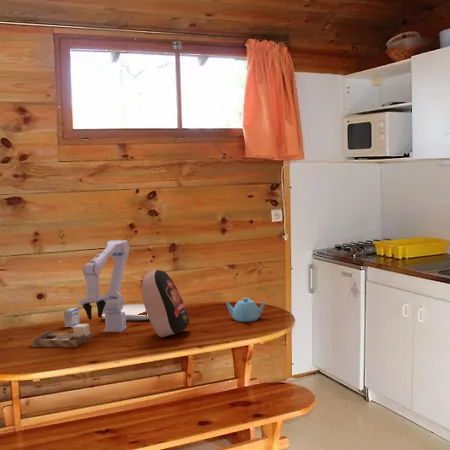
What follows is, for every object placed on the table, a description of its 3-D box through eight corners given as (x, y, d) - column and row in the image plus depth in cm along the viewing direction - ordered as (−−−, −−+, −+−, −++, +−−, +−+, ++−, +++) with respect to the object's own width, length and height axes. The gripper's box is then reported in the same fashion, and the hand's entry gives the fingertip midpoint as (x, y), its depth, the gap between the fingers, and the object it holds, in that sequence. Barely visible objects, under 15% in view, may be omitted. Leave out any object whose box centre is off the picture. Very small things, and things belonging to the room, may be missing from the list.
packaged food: (181, 341, 256) (177, 273, 254) (138, 340, 260) (134, 274, 258) (192, 328, 278) (189, 266, 275) (153, 328, 281) (150, 267, 279)
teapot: (268, 319, 289) (267, 297, 289) (244, 324, 281) (243, 302, 280) (249, 314, 302) (248, 293, 301) (225, 319, 293) (224, 298, 292)
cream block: (89, 333, 271) (89, 323, 270) (85, 336, 265) (84, 326, 265) (78, 333, 272) (78, 323, 271) (73, 336, 266) (73, 326, 266)
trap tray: (92, 336, 272) (92, 329, 272) (76, 347, 254) (75, 340, 254) (51, 336, 276) (50, 329, 275) (32, 346, 258) (31, 340, 258)
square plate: (150, 322, 295) (150, 314, 295) (100, 322, 300) (99, 315, 300) (165, 310, 322) (165, 303, 322) (118, 310, 327) (118, 304, 327)
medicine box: (72, 328, 290) (71, 310, 289) (64, 328, 291) (63, 310, 290) (79, 324, 297) (78, 307, 297) (71, 324, 298) (70, 307, 298)
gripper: (103, 285, 273) (104, 314, 274) (74, 290, 264) (76, 319, 265) (110, 287, 268) (112, 316, 269) (81, 292, 259) (83, 322, 260)
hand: (94, 318), depth 267 cm, fingers open, 4 cm apart
